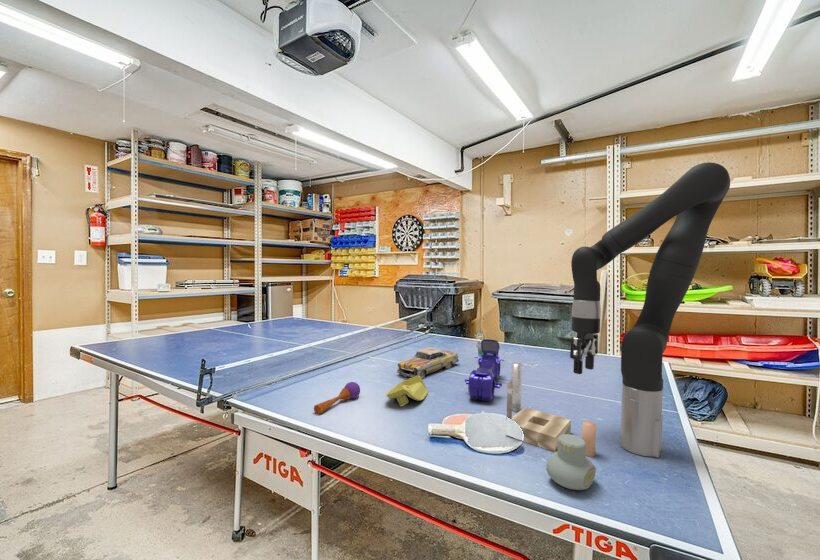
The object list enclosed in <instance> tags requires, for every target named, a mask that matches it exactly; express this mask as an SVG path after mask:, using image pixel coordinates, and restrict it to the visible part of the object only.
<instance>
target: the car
mask: <svg viewBox="0 0 820 560" xmlns="http://www.w3.org/2000/svg"><path fill="white" fill-rule="evenodd" d="M415 353H416V354H415V355H414V356H413V357H411V358H409V359H406V360H403V361H400V362H399V363H397V367H398V369H397V370H396V373H397V374H399V376H403V377H405V378H407V377H409V379H410V378H412V377H415V376H420V377H421V379H422V380H423V379H425V377H426V375H428V374H432V373H433V372H436V371H439V370H442V369H443V368H444V367H445V370H447V369H451V367H452V365H453V364H455V363H458V362H459V361H460V360H459V359H458V358H459V356H458V353H454V352H453V351H450V350H444V349H443V350H441V349H438V348H435V347H424V348H420V349H418V350H417V351H416V352H415Z"/></svg>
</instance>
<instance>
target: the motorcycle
mask: <svg viewBox="0 0 820 560" xmlns="http://www.w3.org/2000/svg"><path fill="white" fill-rule="evenodd" d="M480 343H481V349H482V353H484V354H482V356H481V357H480V355H479V357H477V356H474V357H473V358H474V359H478V367H477V368H476V369H472V371H471V372H470V374H469V377H468V378H467V379H466V378H465V379H464V382H465V384H466V385H467V388H468V390H467V391H468V395H469V398H470V400H474V401H482V402H488V403H489V402H491V401H492V400H493V398H494V396H495V389H500V388H501V387H503V383H501V382H496V381H497V380H499V378H500V374H501V361H503V362H505V359H501V358H500V357H501V356H499V351H500V349H499V346H500V343H499V341H498V340H496V339H482V340H481V342H480ZM487 353H491V354H492V355H491V354H487ZM496 354H498V355H496Z"/></svg>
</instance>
